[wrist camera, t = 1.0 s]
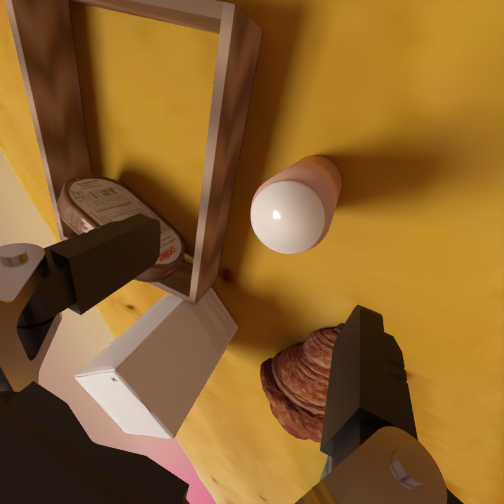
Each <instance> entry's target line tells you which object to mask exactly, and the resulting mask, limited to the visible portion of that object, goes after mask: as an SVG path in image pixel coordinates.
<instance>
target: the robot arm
mask: <svg viewBox="0 0 504 504" xmlns="http://www.w3.org/2000/svg"><path fill="white" fill-rule="evenodd" d="M160 237H161V224H160V222H159V221H158V220H156V219H154V218H152V217H149V216H147V215H145V214H142V213H139V214H136V215H134V216H131V217H129V218H126V219H124V220H120V221H114V222H110V223H107V224H105V225H102V226H100V227H98V229H97V228H94V229H92V230H89V231H88V232H87V233H86V232H84V233H82V234H79V235H77V236H74V237H72V238H69V239H67V240H64V241H61V242H59V243H56V244H54V245H51V246H49V247H46V248H44V249H43V248H42V247H40V246H38V245H34V244H28V243H18V244H9V245H4V246H1V247H0V504H190V503H189V502H188V501H187V499H186V496H187V492H188V488H189V484H187V483H186V482H184V481H183V480H181V479H180V478H178V477H177V476H175V475H174V474H172V473H171V472H169V471H168V470H166V469H165V468H163V467H162V466H160V465H159V464H157V463H156V462H154V461H153V460H151V459H150V458H148V457H147V456H144V455H140V454H136V453H132V452H128V451H124V450H119V449H115V448H111V447H107V446H103V445H99V444H96V443H94V442H92V440H91V439H90V438H89V436H88V435H87V433H86V432H85V430H84V429H83V427H82V426H81V424H80V422H79V421H78V419H77V418H76V416H75V415H74V413H73V412H72V410H71V409H70V407H69V405H68V404H67V403H66V402H64V401H63V400H61V399H60V398H58V397H57V396H55V395H54V394H52V393H51V392H49V391H48V390H46V389H45V388H43V387H42V386H40V385H39V384H38V376H39V370H40V367H41V364H42V362H43V360H44V358H45V356H46V353H47V351H48V349H49V347H50V344H51V342H52V340H53V337H54V335H55V333H56V331H57V328H58V326H59V324H60V322H61V319H62V313H61V312H62V311H64V310H65V309H67V308H69V309H71V310H73V311H75V312H76V313H78V314H80V315H82V314H83V313H85V312H86V311H87V310H89V309H90V308H92V307H93V306H95V305H96V304H98V303H99V302H101V301H102V300H104V299H105V298H107V297H108V296H109V295H111V294H112V293H114V292H115V291H117V290H118V289H120V288H121V287H123V286H124V285H126V284H127V283H128V282H130V281H131V280H133V279H134V278H136V277H137V276H139V275H140V274H142V273H143V272H145V271H146V270H147V269H149V268H150V267H152V266H153V265H154V264H155V263H156V262H157V260H158V258H159V255H160ZM404 367H405V366H404V360H403V354H402V351H401V349H400V347H399V346H398V344H397V342H396V340H395V339H394V337H393V336H392V335H389V334H387V333H385V332H384V326H383V318H382V315H381V314H379V313H377V312H375V311H372V310H370V309H367V308H365V307H363V306H360V305H357V306H356V307H355V308H354V310H353V311H352V313H351V315H350V316H349V318H348V319H347V321H346V323H345V324H344V326H343V328H342V329H341V331H340V332H339V334H338V336H337V338H336V340H335V343H334V347H333V351H332V359H331V367H330V375H329V383H328V391H327V399H326V407H325V415H324V423H323V431H322V438H321V446H320V451H322V452H323V453H325V454H327V455H329V456H331V457H332V469H331V472H330V473H329V474H328V475H327V476H326V477H324V478H323V479H322V480H321V481H320V482H319V483H318V484H316V485H315V486H314V487H313V488H312V489H311V490H309V491H308V492H307V493H306V494H305V495H304V496H303V497H301V498H300V499H299V500H298V501H297V502H296V503H295V504H464V503H462V502H461V501H460V500H459V499H458V498H457V497H455V496H454V495H453V494H452V493H451V492H450V491H449V490H448V489H447V488H446V486H445V482H444V479H443V476H442V474H441V472H440V470H439V468H438V466H437V464H436V462H435V461H434V459H433V458H432V456H431V455H430V454H429V452H428V451H427V450H426V449H425V447H424V446H423V445H422V444H421V443H420V442H419V441H418V438H417V433H416V427H415V422H414V416H413V410H412V405H411V399H410V394H409V388H408V383H406V381H407V377H406V371H405V370H404Z"/></svg>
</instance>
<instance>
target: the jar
mask: <svg viewBox="0 0 504 504" xmlns="http://www.w3.org/2000/svg"><path fill="white" fill-rule="evenodd" d="M341 188H342V177H341V173H340V171H339V169H338V167H337V166H336V165H335V164H334V163H333V162H332V161H331V160H329V159H327V158H325V157H322V156H308V157H305V158H303V159H301V160H299V161H298V162H296V163H294V164H293V165H291V166H290V167H288V168H286V169H285V170H283V171H281V172H280V173H278V174H277V175H275V176H273V177H272V178H270V179H269V180H267V181H266V182H264V183H263V184H262V185H261V186H260V187H259V189H258V190H257V192H256V193H255V195H254V197H253V201H252V205H251V223H252V227H253V230H254V232H255V234H256V235H257V237H258V238H259V239H260V241H261V242H262V243H263V244H265V245H266V246H267V247H269V248H270V249H272V250H274V251H277V252H279V253H284V254H295V253H300V252H303V251H306V250H309V249H311V248H313V247H315V246H316V245H317V244H319V243H320V242H321V241H322V240H323V238H324V237H325V236H326V234H327V232H328V230H329V227H330V224H331V221H332V218H333V214H334V211H335V208H336V205H337V202H338V198H339V195H340V192H341Z"/></svg>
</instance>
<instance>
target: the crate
mask: <svg viewBox="0 0 504 504" xmlns="http://www.w3.org/2000/svg"><path fill="white" fill-rule="evenodd" d="M69 1H73V2H77V3H82V4H86V5H91V6H95V7H100V8H104V9H109V10H113V11H118V12H123V13H127V14H132V15H136V16H141V17H145V18H150V19H154V20H159V21H163V22H168V23H173V24H177V25H182V26H186V27H191V28H195V29H200V30H204V31H209V32H213V33H218V34H220V35H219V44H218V52H217V61H216V70H215V79H214V87H213V96H212V105H211V113H210V122H209V131H208V139H207V148H206V157H205V166H204V174H203V183H202V192H201V200H200V209H199V218H198V226H197V235H196V244H195V253H194V261H193V266H191V265H189V264H186V263H184V262H181V263H180V265H179V266H178V267H177V270H176V272H175V273H174V274H173V275H172V276H171V277H169V278H168V279H166V280H163V281H160V282H148V283H150V284H153V285H155V286H157V287H159V288H161V289H163V290H165V291H167V292H169V293H171V294H173V295H175V296H177V297H179V298H181V299H183V300H185V301H187V302H189V303H191V304H193V305H195V304H196V303H197V302H198V301H199V300H200V299H201V298H202V297H203V296H204V294H205V293H206V292H207V291H208V290H209V289H210V288H211V287H212V286H213V285H214V284H215V282H216V279H217V274H218V268H219V263H220V257H221V252H222V247H223V241H224V236H225V231H226V225H227V220H228V214H229V209H230V204H231V198H232V193H233V188H234V182H235V177H236V172H237V166H238V161H239V155H240V150H241V145H242V139H243V134H244V129H245V123H246V118H247V112H248V107H249V102H250V96H251V91H252V86H253V80H254V75H255V70H256V64H257V59H258V53H259V48H260V43H261V37H262V32H263V29H262V28H261V27H260V26H259V25H257V24H256V23H255V22H254V21H253V20H252V19H251V18H250V17H249V16H248V15H246V14H245V13H244V12H243V11H242V10H241V9H240V8H239V7H238V6H237V5H236V4H232V3H227V2H222V1H216V0H5V3H6V7H7V11H8V16H9V20H10V24H11V29H12V33H13V37H14V42H15V46H16V50H17V55H18V59H19V63H20V67H21V72H22V76H23V80H24V85H25V89H26V93H27V98H28V102H29V106H30V110H31V115H32V119H33V123H34V128H35V132H36V136H37V141H38V145H39V149H40V154H41V158H42V162H43V166H44V171H45V175H46V179H47V184H48V188H49V192H50V197H51V201H52V205H53V210H54V214H55V218H56V222H57V227H58V231H59V235H60V239H61V240H63V241H64V240H67V239H69V238H72V237H74V236H77V235H78V234H77V233H76V232H75V231H74V230H73V229H72V228H71V227H69V226H68V225H67V224H66V223H65V222H64V221H63V220H62V218H61V217H60V215H59V213H58V211H57V201H58V199H59V197H60V194H61V191H62V188H63V185H64V184H65V182H66V181H67V180H69V179H70V178H74V177H78V176H91V168H90V161H89V153H88V146H87V138H86V130H85V123H84V115H83V108H82V100H81V92H80V85H79V77H78V69H77V62H76V54H75V47H74V39H73V31H72V24H71V16H70V9H69Z"/></svg>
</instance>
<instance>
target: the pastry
mask: <svg viewBox="0 0 504 504" xmlns="http://www.w3.org/2000/svg"><path fill="white" fill-rule="evenodd" d="M343 326H344V324H339V325H338V327H336V328H333V329H322V330H318V331H315V332H313V333H311V334H310V335H309V337H308V338H307V339H306V341H305V342H304V344H302V345H295V346H291V347H288V348H286V349H285V350H284V351H283V353H278V354H277V355H276V356H275V357H273V358H269V359H267V360H266V361H264V362H263V363H262V364H261V369H260V377H261V382H262V387H263V390H264V392H265V394H266V397H267V398H268V400H269V402H270V407H271V411H272V413H273V415H274V416H275V417H276V418H277V420H278V421H279V423H280V424H281V425H282V426H283V428H284V429H285V430H286V431H287V432H288V433H289V434H291V435H292V436H294V437H296V438H299V439H303V440H307V439H311V440H313V441H315V442H320V443H321V438H322V431H323V423H324V415H325V407H326V399H327V391H328V383H329V375H330V367H331V359H332V351H333V347H334V343H335V340H336V338H337V336H338V334H339V332H340V331H341V329H342V328H343Z"/></svg>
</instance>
